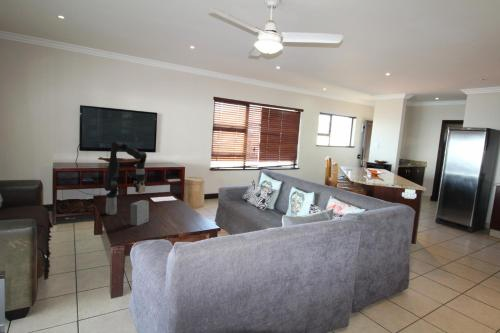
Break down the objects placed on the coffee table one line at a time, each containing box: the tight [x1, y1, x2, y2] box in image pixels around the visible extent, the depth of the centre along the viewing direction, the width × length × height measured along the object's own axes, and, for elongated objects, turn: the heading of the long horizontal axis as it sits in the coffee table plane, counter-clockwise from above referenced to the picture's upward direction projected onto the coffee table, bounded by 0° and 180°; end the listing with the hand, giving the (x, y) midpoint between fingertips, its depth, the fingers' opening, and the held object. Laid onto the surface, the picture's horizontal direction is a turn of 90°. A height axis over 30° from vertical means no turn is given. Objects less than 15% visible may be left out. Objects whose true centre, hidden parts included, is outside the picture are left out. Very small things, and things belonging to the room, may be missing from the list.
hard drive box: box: [130, 199, 150, 227], centre depth 267 cm, size 16×8×20 cm, turn 158°
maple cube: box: [134, 184, 146, 194], centre depth 264 cm, size 6×6×6 cm
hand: (140, 191), depth 264 cm, fingers closed on maple cube, 6 cm apart
